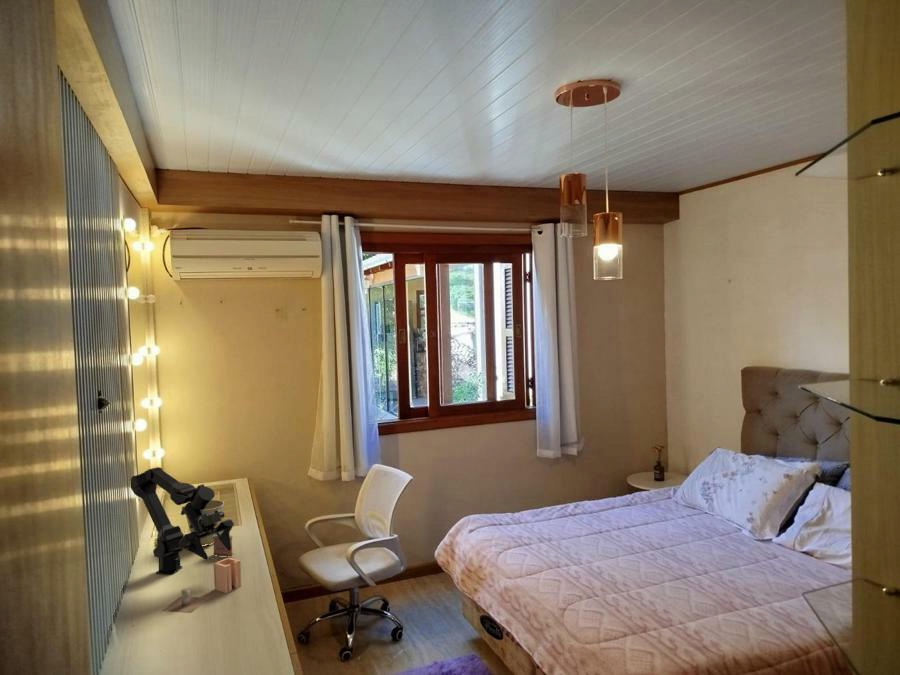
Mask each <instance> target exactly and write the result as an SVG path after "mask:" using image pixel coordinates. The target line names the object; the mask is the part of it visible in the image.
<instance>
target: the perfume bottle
mask: <svg viewBox="0 0 900 675" xmlns="http://www.w3.org/2000/svg"><path fill="white" fill-rule="evenodd" d="M229 536H230V544H231V550H230V551H228V550H227V549H226V547H225V546H224V545H223V544H222V542H221V541H220V540H219V536H218V535H214V536H213V541H214V544H213V554H214V555H217V556H227V557H226V558H228V556H232V555H233V556H234V554H233V536H232V535H230V534H229ZM213 554H212V555H213ZM233 556H232V557H233Z"/></svg>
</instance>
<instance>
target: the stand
mask: <svg viewBox="0 0 900 675" xmlns="http://www.w3.org/2000/svg"><path fill="white" fill-rule="evenodd" d="M190 592H191V591H190V588H184V589H182V590H181V596H180V597H178V598H177V599H175V600H174V601H173V602H171V603H170V604H168V605H167V606H166V607H164V609H162V610H161V612H171V613H173V612H174V613H188V614H191V613H193V612H194V611H195V610H197V609H198V608H199V607H200V606H202V604H204V603H205V602H206V601H207V600H209V599H210V597H203V596H201V597H200V596H199V597H198V596H191V593H190Z"/></svg>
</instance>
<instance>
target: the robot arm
mask: <svg viewBox="0 0 900 675" xmlns="http://www.w3.org/2000/svg"><path fill="white" fill-rule="evenodd" d="M130 480H131V488H130V489H131V491H132V492H133V493H134V496H137V497H138V498H140V499H141V500H142V501H143V503H144V505H145V508H146V510H147V512H148V514H149V516H150V518H151V521H152V522H153V524H154V527H155V529H156V531H157V537H156V543H157V545H156V546H155V548H154V549H153V551H152V552H153V556H154V557H155V558H158V570H157V571H156V572H155V573H163V574H162V575H174V574H175V573H176V572H178V571H179V570H181V569H182V568H183V565H181V557H180V553H181V552H184V550H185V551H186V552H187V551H188V552H191V553H193V554H195V555H196V556H198V557H199V558H202V559H203V560H205V561H208V559H209V556H208V554H207V553H206V551H205V550H206V549H205V548H204V547H202V545H201V541H200V539H202V538H205V537H208V536H210V535H213V534H217V535H218V536H219V540H220V541H221V542H222V544H223V545H224V546H225V547H226V549H227V550H228V551H230V550H231V544H230V536H231V535H230V534H231V533H230V532H231V531H232V529H233V528H234V526H235V523H234V521H233V519H226V520H223V518H225V513H224V510H223V511H222V509H218V510H216V511H215V513H214V514H211V515H210V514H209V513H207V514H206V513H205V511H204V509H205V508H206V507H207V506H208V505H209V503H210V502H211V501H212V500H214V498H215V491H214V490H213V489H212V488H210V487H208V486H205V485H204V484H200V485H197V487H195V486H194V485H192V484H190V483H188V482H181V481H178V480H177V479H175V478H174V477H173V476H171V475H170V474H168V473H167V472H166V471H164V470H163V468H162V467H159V466H158V467H157V466H156V467H153V468H148V469H147V470H145V471H144V472H142V473H140V474H135V475H132V476H131V478H130ZM157 486H158V487H159V488H161V489H163V491H165V492H166V493H168V494H169V496H170V500H171V501H172V502H173V503H174V504H175V505H177V506H181V505H184V504H185V505H184V506H182V507H181V512H180V515H181V516H183V515H185V516H187V517H186V519H187V518H188V520H189V522H190V523H191V525H190V526H189V525H188V528H189V527H190V528H193V529H194V530H195V532H188V533H186V534H184V533H183V532H182V529H181V527H180V526H179V525H176V526H174V525H173V524H172V523H171V521H170V519H169V517H168V515H167V512H166V511H165V509H164V506H163V504H162V502H161V500H160V498H159V496H158V494H157ZM221 518H222V519H221ZM218 521H221V523H220V524H219V525H218V527H216V528H214V526H216V525H217V523H216V522H218ZM229 535H230V536H229ZM181 567H182V568H181ZM180 568H181V569H180ZM178 569H179V570H178ZM177 570H178V571H177ZM175 571H176V572H175ZM174 572H175V573H174Z"/></svg>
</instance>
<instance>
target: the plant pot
mask: <svg viewBox="0 0 900 675" xmlns="http://www.w3.org/2000/svg"><path fill="white" fill-rule="evenodd" d="M224 508H225V501H223V500H219V499H212V501H211V502H210V503H209V505H208V506H207V507H206V508H205V509H204V511H205V513H206V514H207V513H209V514H210V515H211V514H214V513H215V511H216V510H218V509H222V511H223V512H224ZM185 516H186V515H185ZM186 519H187V520H186V521H187V524H188V529H189V531H190V532H189V533H191V532H195V530H194V529H193V528H190V527H189V526H190V525H191V523H190V522H189V520H188V518H187V516H186ZM221 519H222V520H223V518H221ZM221 522H222V521H218V522H216V523H217V525H216V526H214V528H216V527H218V525H219V524H220V523H221ZM214 535H217V534H213V535H210V536H208V537H205V538H202V539H200V541H201V545H205V544H211V543H213V542H214V541H213V536H214Z"/></svg>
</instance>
